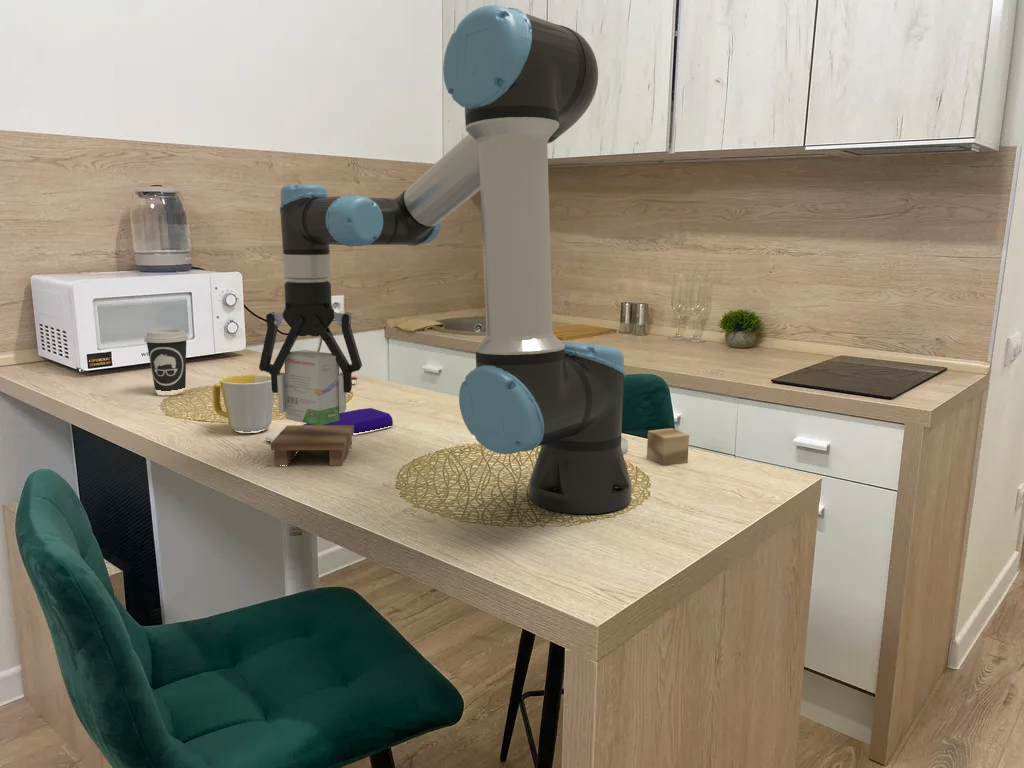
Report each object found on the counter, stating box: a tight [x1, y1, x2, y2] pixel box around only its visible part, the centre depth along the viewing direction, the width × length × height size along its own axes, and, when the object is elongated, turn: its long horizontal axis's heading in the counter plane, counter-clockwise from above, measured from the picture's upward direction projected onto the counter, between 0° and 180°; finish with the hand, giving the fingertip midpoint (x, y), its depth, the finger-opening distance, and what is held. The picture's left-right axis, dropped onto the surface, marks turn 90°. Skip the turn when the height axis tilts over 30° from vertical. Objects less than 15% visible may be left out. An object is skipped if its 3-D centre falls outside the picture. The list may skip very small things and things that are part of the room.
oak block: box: [646, 427, 690, 467], centre depth 132 cm, size 5×5×5 cm
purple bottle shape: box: [265, 407, 394, 443], centre depth 149 cm, size 3×11×25 cm
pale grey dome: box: [621, 436, 629, 456], centre depth 139 cm, size 9×9×2 cm
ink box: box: [284, 349, 340, 426], centre depth 131 cm, size 9×5×12 cm, turn 58°
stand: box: [270, 424, 354, 467], centre depth 133 cm, size 12×12×4 cm
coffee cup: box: [143, 328, 189, 391], centre depth 182 cm, size 10×10×15 cm
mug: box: [212, 373, 275, 432], centre depth 150 cm, size 14×10×10 cm
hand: (313, 410), depth 132 cm, fingers closed on ink box, 9 cm apart
